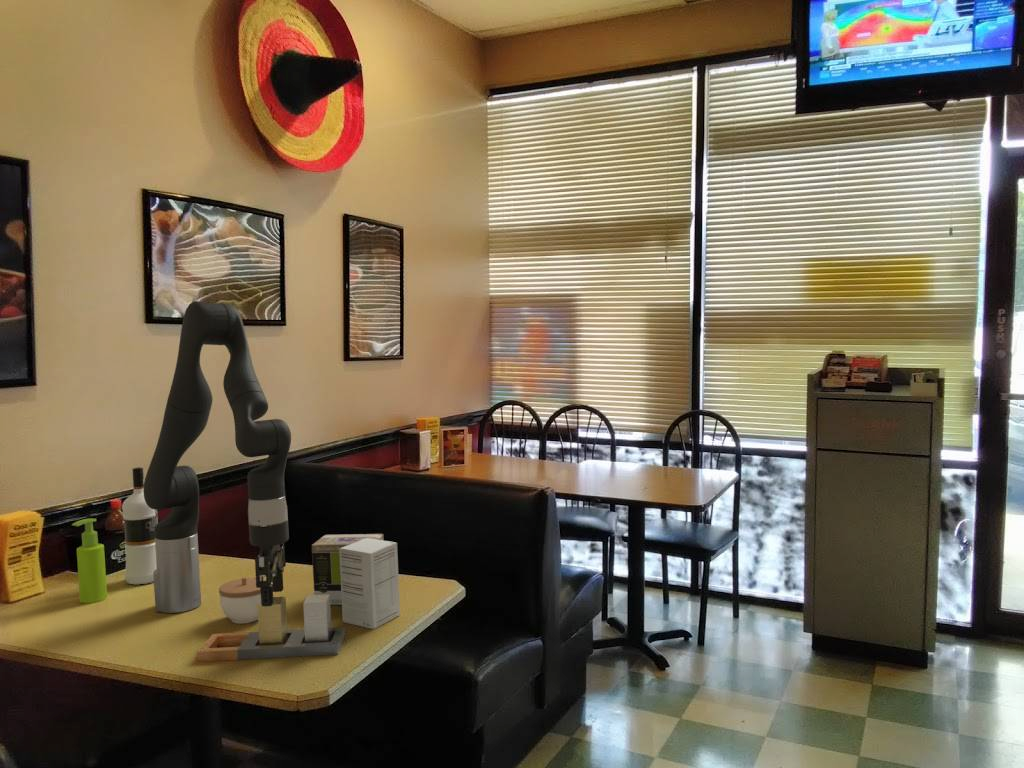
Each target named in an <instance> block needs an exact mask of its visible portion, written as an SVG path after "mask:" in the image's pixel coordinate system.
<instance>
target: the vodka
mask: <svg viewBox="0 0 1024 768" xmlns="http://www.w3.org/2000/svg"><path fill="white" fill-rule="evenodd" d="M144 475H145V474H144V468H143V467H133V468H132V485H133V492H132V494H131V495H129V496H128V497H127V498H126V499H124V501H123V503H122V505H121V507H122V508H121V509H122V513H123V514H122V518H123V524H124V525H123V526H124V527H123V528H124V540H125V541H124V542H125V544H124V548H125V572H124V582H126V583H127V584H129V585H131V584H133V585H132V586H141V585H140V584H144V585H148V583H149V584H152V583H153V584H154V576H153V572H154V571H155V570H156V569H157V567H156V550H155V534H154V528H155V526H156V525H157V524H158V523H159V519H158V518H159V516H158V510H154V509H151V508H150V507H149V506H148V505H147V504H146V502H145V499H144V492H143V490H144V482H145V477H144Z"/></svg>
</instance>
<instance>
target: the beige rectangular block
mask: <svg viewBox="0 0 1024 768" xmlns="http://www.w3.org/2000/svg"><path fill="white" fill-rule="evenodd" d="M273 600H274V603H273V605H272V606H265V607H264V606H262V605H261V601H260V603H259V604H258V620H257V621H258V632H259V645H260V646H264V645H283V644H286V642H287V641H288V636H287V630H288V621H287V619H288V617H287V600H286V596H273Z"/></svg>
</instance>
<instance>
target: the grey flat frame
mask: <svg viewBox="0 0 1024 768" xmlns="http://www.w3.org/2000/svg"><path fill="white" fill-rule="evenodd" d="M331 629H332V641H331V642H322V643H305V628H304V629H287V636H288V641H287V642H286V644H283V645H264V646H260V645H259V631H246V632H245V631H244V632H243V631H242V632H226V633H225V632H224V633H212V634H211V635H210V637H209V638H208V639H207V641H206V642H205V643H203V645H202V646H201V648H200V649H199V650H198V651H197V659H198V662H200V663H201V662H202V663H203V662H204V663H205V662H219V661H220V662H221V661H222V662H223V661H240V660H242V661H243V660H258V659H276V658H297V657H314V656H316V657H317V656H332V655H333V656H337V655H339V653H340V650H341V647H342V645H343V643H344V639H345V638H346V637H345V636H346V634H345V627H344V626H343V627H331ZM223 646H226V647H223ZM228 646H229V647H228Z"/></svg>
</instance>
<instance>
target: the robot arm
mask: <svg viewBox="0 0 1024 768" xmlns="http://www.w3.org/2000/svg"><path fill="white" fill-rule="evenodd" d="M245 329H246V328H245V326H244V322H243V319H242V316H241V313H240V312H239V310H238V308H237V307H236V306H234V305H233V304H229V303H224V302H223V303H222V302H211V301H198V300H196V301H191V303H189V305H188V306H187V307H186V309H185V312H184V316H183V319H182V325H181V330H180V336H179V343H178V344H179V345H178V354H177V359H176V364H175V369H174V373H173V379H172V383H171V386H170V390H169V393H168V397H167V400H166V404H165V410H164V414H163V420H162V424H161V429H160V432H159V435H158V440H157V443H156V447H155V449H154V453H153V455H152V458H151V460H150V463H149V467H148V469H147V473H146V475H145V477H144V490H143V492H144V499H145V502H146V504H147V505H148V506H149V507H150V508H151V509H154V510H157V511H159V510H167V509H171V508H172V509H171V511H170V512H169V514H168V515H167V516H166V517H164V518H163V519H162V520H160V521H158V524H157V525H156V526H155V528H154V534H155V550H156V567H157V569H156V570H155V571H154V572H153V576H154V582H153V589H154V590H153V591H154V606H155V612H161V613H166V614H174V613H175V614H176V613H183V612H188V611H191V610H193V609H197V608H198V607H200V606H201V604H202V593H201V577H200V575H201V574H200V571H201V570H200V559H199V558H200V554H199V539H198V538H199V537H198V524H199V520H200V485H199V479H198V476H197V473H196V471H195V470H194V469H193V468H192V467H191V466H190V465H178V464H179V461H180V460H181V458H182V457H183V455H184V454H185V453H186V452H187V451H188V450H189V448H190V447H191V446H192V445H193V444H194V443H195V442H196V441H197V440H198V439H199V437H200V435H201V434H202V433H203V432H204V430H205V429H206V426H208V425H207V423H208V421H209V418H210V414H211V413H210V412H211V410H212V406H213V394H212V391H211V388H210V385H209V384H208V381H207V379H206V377H205V375H204V373H203V370H202V367H201V353H202V349H203V347H204V345H206V346H207V345H210V346H212V345H213V346H225V348H226V350H227V351H228V353H229V360H228V365H227V366H226V370H225V373H224V374H223V389H224V394H225V395H224V396H226V399H227V402H228V404H229V406H230V409H231V411H232V415H233V420H234V421H233V422H234V433H235V434H234V436H235V437H234V439H235V441H234V442H235V446H236V448H237V451H238V452H239V453H240V454H241V455H242V456H244V457H245V458H257V457H263V456H268V457H267V459H266V461H265V462H264V464H262V465H259V466H258V467H255V468H253V469H251V470H250V471H248V473H247V476H246V477H247V494H248V503H247V504H248V505H247V517H248V532H249V534H248V535H249V543H250V545H251V546H254V547H259V549H260V550H259V553H258V554H257V556H255V558H254V569H255V570H254V571H255V578H256V587H257V588H260V589H261V605H262V606H264V607H265V606H272V605H273V603H274V600H273V597H274V593H281V592H283V591H284V571H285V569H284V568H285V567H286V565H287V564H286V563H287V562H286V554H285V553H286V552H285V543H286V542H288V541H289V539H290V536H289V535H290V534H289V519H288V518H289V517H288V515H289V514H288V505H287V500H286V489H285V488H286V487H285V486H286V485H285V471H286V467H287V460H288V457H289V453H290V448H291V443H292V433H291V429H290V427H289V425H288V423H286V421H284V420H283V419H280V418H274V419H265V420H264V419H263V420H259V419H260V418H262V417H263V416H265V414H266V413H267V412H268V410H269V402H268V400H267V398H266V395H265V393H264V390H263V388H262V387H261V383H260V382H259V379H258V377H257V375H256V371H255V368H254V364H253V361H252V357H251V352H250V347H249V344H248V343H249V342H248V338H247V335H246V331H245ZM263 579H266V581H263Z"/></svg>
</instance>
